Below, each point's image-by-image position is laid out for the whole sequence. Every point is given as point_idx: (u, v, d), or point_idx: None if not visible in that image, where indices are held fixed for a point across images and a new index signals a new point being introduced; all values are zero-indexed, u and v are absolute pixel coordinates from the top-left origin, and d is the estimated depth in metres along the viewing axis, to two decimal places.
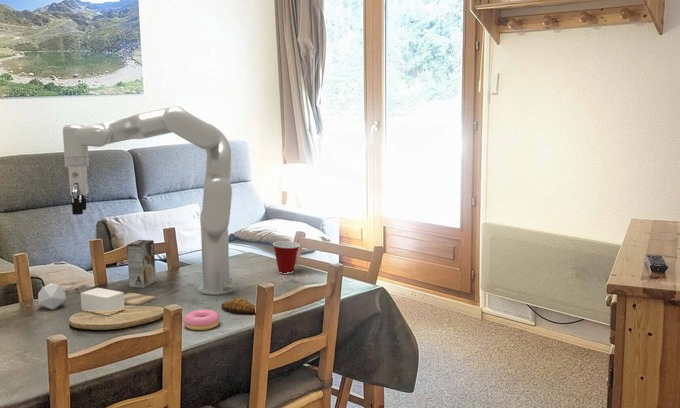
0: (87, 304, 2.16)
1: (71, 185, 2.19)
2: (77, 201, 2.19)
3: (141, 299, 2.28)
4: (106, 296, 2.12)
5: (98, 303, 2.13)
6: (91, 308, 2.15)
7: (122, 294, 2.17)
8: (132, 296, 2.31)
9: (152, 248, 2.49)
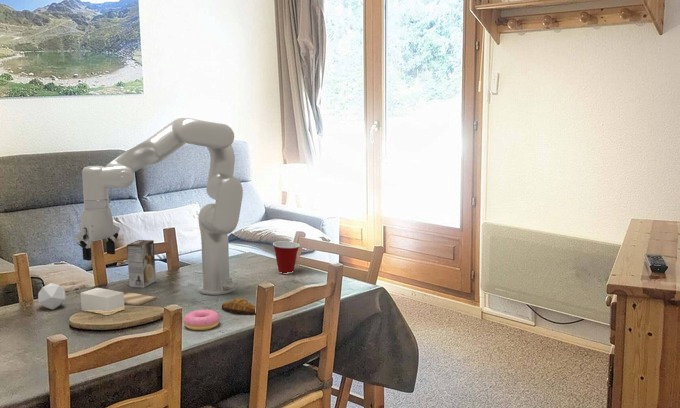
0: (87, 304, 2.16)
1: None
2: None
3: (141, 299, 2.28)
4: (106, 296, 2.12)
5: (98, 303, 2.13)
6: (91, 308, 2.15)
7: (122, 294, 2.17)
8: (132, 296, 2.31)
9: (152, 248, 2.49)
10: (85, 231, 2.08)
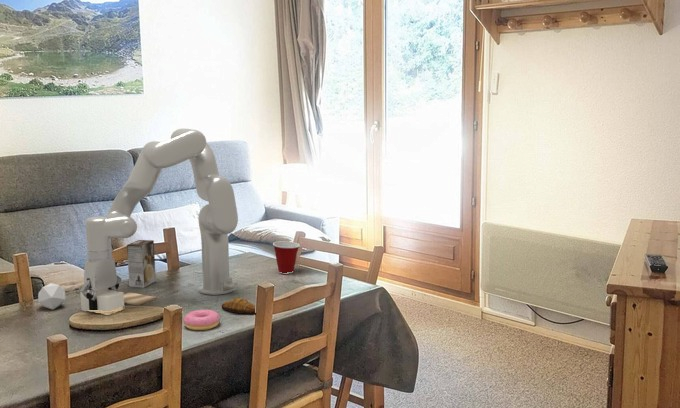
0: (87, 304, 2.16)
1: None
2: None
3: (141, 299, 2.28)
4: (106, 296, 2.12)
5: (98, 303, 2.13)
6: None
7: (122, 294, 2.17)
8: (132, 296, 2.31)
9: (152, 248, 2.49)
10: (89, 283, 2.11)
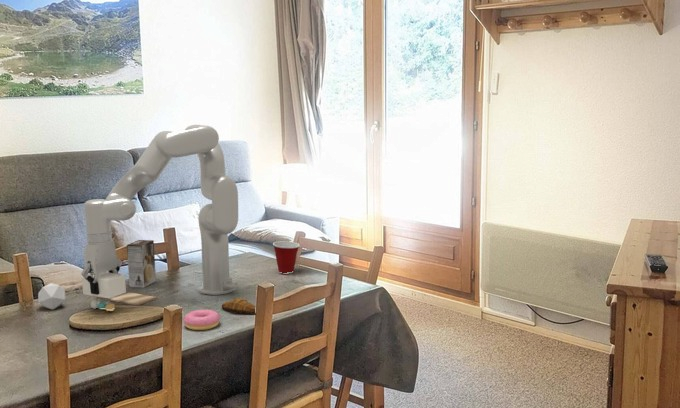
0: (88, 287, 2.15)
1: None
2: None
3: (141, 299, 2.28)
4: (107, 279, 2.12)
5: (99, 286, 2.13)
6: None
7: (123, 276, 2.16)
8: (132, 296, 2.31)
9: (152, 248, 2.49)
10: (90, 266, 2.11)
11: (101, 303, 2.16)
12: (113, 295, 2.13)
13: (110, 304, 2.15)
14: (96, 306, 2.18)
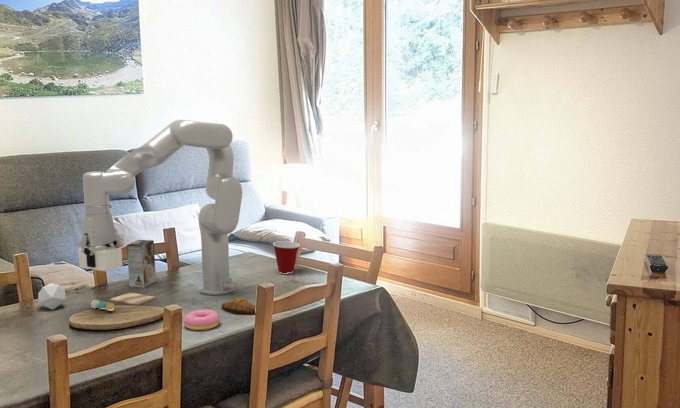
0: (84, 260, 2.13)
1: None
2: None
3: (141, 299, 2.28)
4: (104, 251, 2.10)
5: (96, 259, 2.11)
6: None
7: (120, 250, 2.14)
8: (132, 296, 2.31)
9: (152, 248, 2.49)
10: (87, 238, 2.09)
11: (101, 303, 2.16)
12: (109, 268, 2.11)
13: (110, 304, 2.15)
14: (96, 306, 2.18)
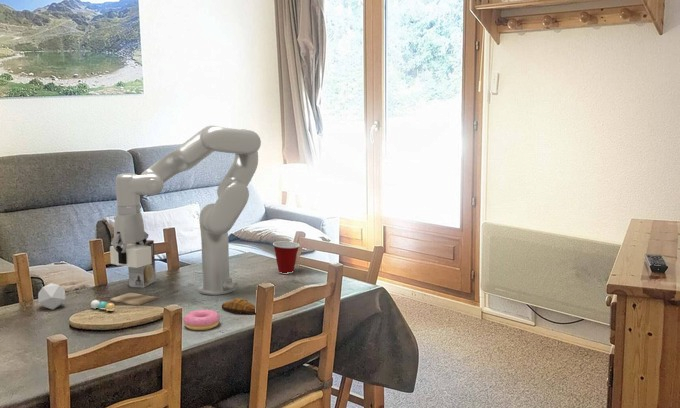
0: (116, 257, 2.25)
1: None
2: None
3: (141, 299, 2.28)
4: (134, 249, 2.22)
5: (127, 256, 2.23)
6: None
7: (150, 248, 2.26)
8: (132, 296, 2.31)
9: (152, 248, 2.49)
10: (119, 236, 2.21)
11: (101, 303, 2.16)
12: (140, 265, 2.23)
13: (110, 304, 2.15)
14: (96, 306, 2.18)
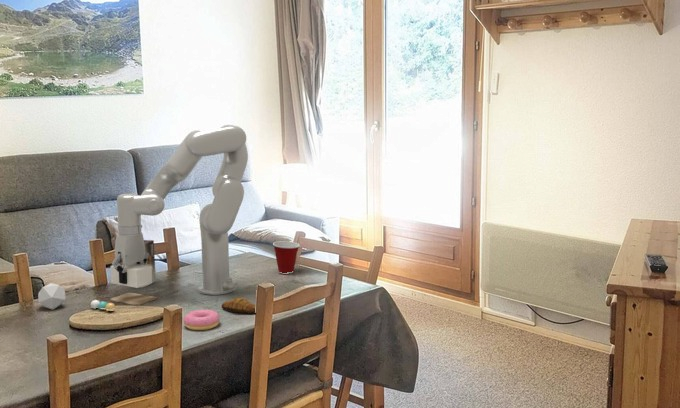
0: (116, 276, 2.26)
1: None
2: None
3: (141, 299, 2.28)
4: (135, 269, 2.23)
5: (128, 276, 2.24)
6: None
7: (150, 268, 2.27)
8: (132, 296, 2.31)
9: (152, 248, 2.49)
10: (120, 256, 2.22)
11: (101, 303, 2.16)
12: (140, 285, 2.24)
13: (110, 304, 2.15)
14: (96, 306, 2.18)
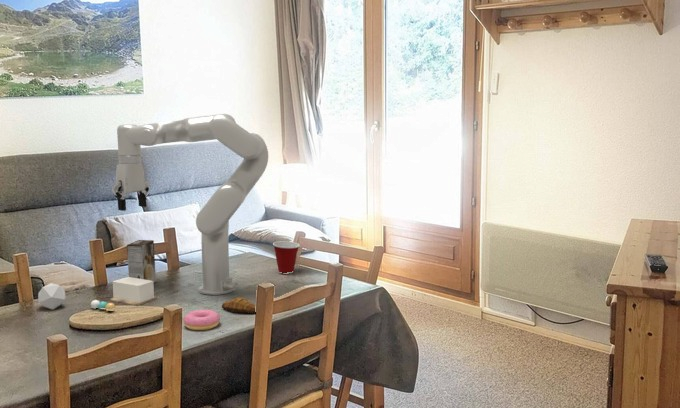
0: (119, 291, 2.27)
1: None
2: None
3: None
4: (137, 284, 2.24)
5: (130, 291, 2.25)
6: (123, 296, 2.27)
7: (152, 283, 2.28)
8: None
9: (152, 248, 2.49)
10: (120, 183, 2.28)
11: (101, 303, 2.16)
12: (142, 300, 2.25)
13: (110, 304, 2.15)
14: (96, 306, 2.18)
